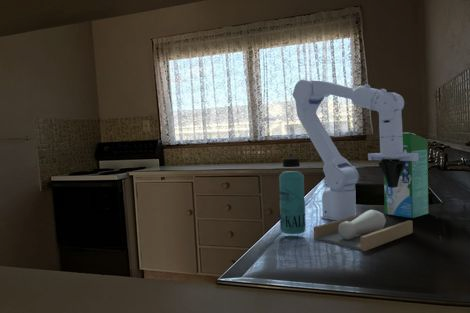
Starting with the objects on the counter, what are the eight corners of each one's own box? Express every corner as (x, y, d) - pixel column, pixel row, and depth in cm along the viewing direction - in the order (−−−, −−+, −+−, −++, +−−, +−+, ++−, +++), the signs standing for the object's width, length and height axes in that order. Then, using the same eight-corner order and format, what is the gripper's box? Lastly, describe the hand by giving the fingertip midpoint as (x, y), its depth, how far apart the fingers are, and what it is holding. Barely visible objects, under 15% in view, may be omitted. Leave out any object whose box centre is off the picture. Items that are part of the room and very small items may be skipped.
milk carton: (428, 213, 115) (427, 131, 114) (412, 218, 110) (410, 132, 109) (401, 209, 123) (399, 132, 121) (384, 213, 118) (382, 133, 116)
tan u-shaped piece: (314, 239, 93) (313, 226, 93) (363, 224, 106) (363, 213, 106) (364, 251, 82) (364, 237, 82) (412, 232, 95) (412, 220, 94)
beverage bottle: (287, 232, 100) (284, 157, 99) (310, 235, 96) (308, 157, 95) (275, 238, 95) (272, 158, 94) (299, 241, 91) (297, 158, 90)
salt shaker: (391, 230, 92) (355, 244, 85) (372, 230, 97) (337, 244, 90) (385, 206, 93) (349, 219, 86) (367, 208, 98) (331, 220, 91)
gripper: (425, 135, 98) (427, 187, 98) (379, 137, 110) (381, 183, 111) (407, 136, 94) (409, 190, 95) (362, 138, 107) (364, 186, 107)
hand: (393, 187), depth 103 cm, fingers closed
